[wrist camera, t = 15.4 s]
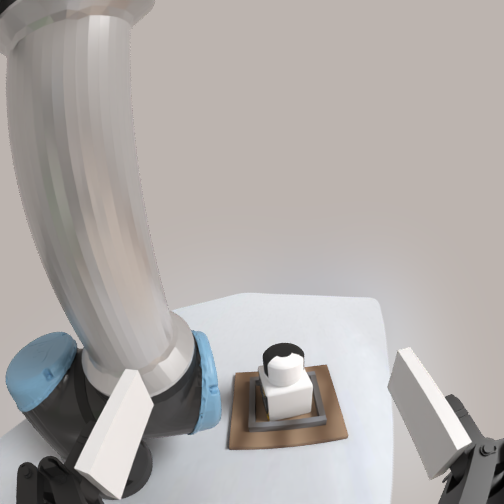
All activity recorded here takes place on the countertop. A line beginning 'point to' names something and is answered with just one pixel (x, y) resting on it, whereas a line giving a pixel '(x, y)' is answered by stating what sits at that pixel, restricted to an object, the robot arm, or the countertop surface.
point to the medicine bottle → (284, 382)
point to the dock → (290, 429)
